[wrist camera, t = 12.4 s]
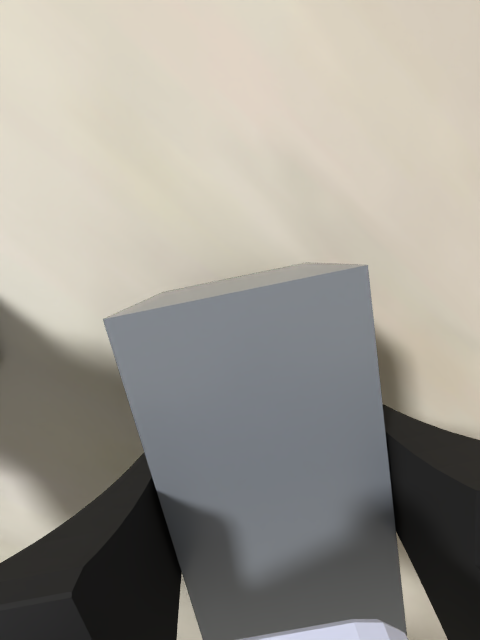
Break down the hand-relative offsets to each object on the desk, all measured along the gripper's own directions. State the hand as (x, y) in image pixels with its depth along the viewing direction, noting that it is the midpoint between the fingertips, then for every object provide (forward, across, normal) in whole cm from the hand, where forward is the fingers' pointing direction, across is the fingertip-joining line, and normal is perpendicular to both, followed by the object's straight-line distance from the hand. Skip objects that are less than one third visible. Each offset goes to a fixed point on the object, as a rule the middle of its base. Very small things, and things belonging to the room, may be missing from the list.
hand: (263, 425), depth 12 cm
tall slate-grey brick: (+2, 0, 0) cm, 2 cm away
